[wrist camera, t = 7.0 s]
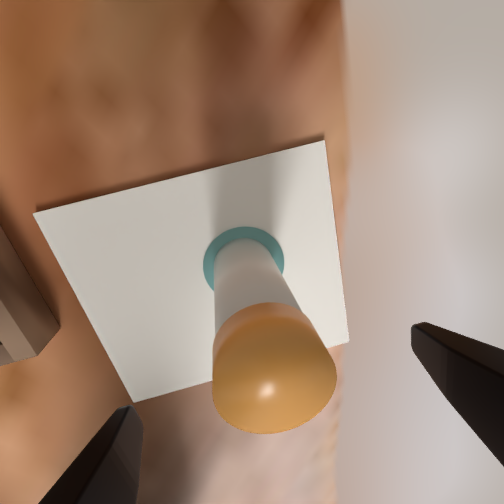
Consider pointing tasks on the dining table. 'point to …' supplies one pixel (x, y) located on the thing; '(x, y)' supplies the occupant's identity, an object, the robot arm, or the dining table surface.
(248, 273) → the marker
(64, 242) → the paper
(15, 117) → the dining table surface
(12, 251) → the button housing
